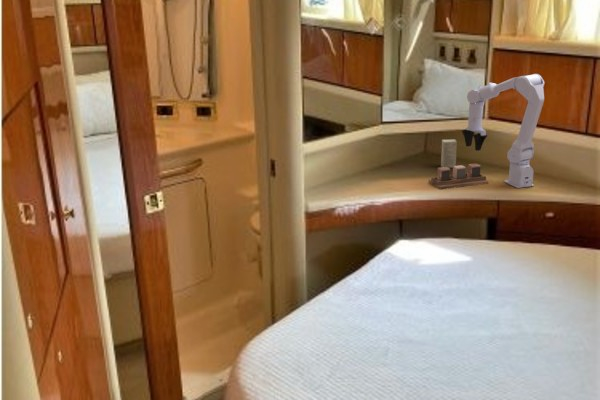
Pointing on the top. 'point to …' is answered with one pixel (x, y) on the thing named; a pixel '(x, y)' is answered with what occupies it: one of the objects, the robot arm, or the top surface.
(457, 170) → the rose block
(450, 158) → the skincare box
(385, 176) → the top surface
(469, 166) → the walnut rack
